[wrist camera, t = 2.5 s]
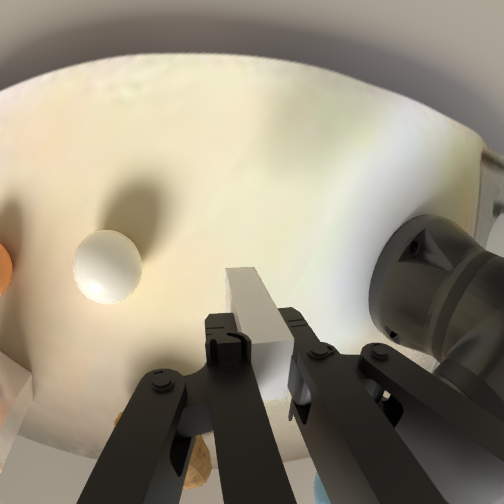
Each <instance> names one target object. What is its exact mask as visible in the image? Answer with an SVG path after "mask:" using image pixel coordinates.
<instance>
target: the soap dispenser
mask: <svg viewBox="0 0 504 504" xmlns="http://www.w3.org/2000/svg"><path fill="white" fill-rule="evenodd" d="M32 402H33V388H32V373H31V372H29V371H28V370H26V369H25V368H23V367H22V366H20V365H19V364H17V363H16V362H15V361H13V360H12V359H10V358H9V357H8V356H6V355H5V354H4V353H2V352H1V351H0V473H1V470H2V467H3V465H4V462H5V460H6V457H7V454H8V452H9V450H10V447H11V445H12V443H13V440H14V438H15V436H16V434H17V432H18V430H19V427H20V425H21V423H22V421H23V419H24V417H25V415H26V413H27V411H28V409H29V407H30V405H31V403H32Z"/></svg>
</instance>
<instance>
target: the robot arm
mask: <svg viewBox="0 0 504 504" xmlns="http://www.w3.org/2000/svg"><path fill="white" fill-rule="evenodd" d="M225 273H226V313H218V314H209V315H208V317H207V318H206V320H205V334H206V343H205V348H206V358H207V362H206V364H205V366H204V367H203V368H202V369H201V370H199V371H198V372H196V373H193V374H190V375H187V376H182V375H181V374H180V373H178V372H177V371H174V370H171V369H157V370H153V371H151V372H149V373H147V374H145V376H144V377H143V378H142V379H141V381H140V382H139V384H138V386H137V388H136V389H135V391H134V393H133V395H132V397H131V399H130V400H129V402H128V404H127V406H126V408H125V409H124V411H123V413H122V415H121V417H120V419H119V421H118V422H117V424H116V426H115V428H114V430H113V432H112V434H111V436H110V438H109V439H108V441H107V443H106V445H105V447H104V449H103V451H102V453H101V455H100V457H99V459H98V461H97V463H96V465H95V467H94V469H93V471H92V473H91V475H90V477H89V479H88V481H87V483H86V485H85V487H84V489H83V491H82V493H81V495H80V497H79V499H78V501H77V504H179V501H180V497H181V493H182V489H183V485H184V482H185V478H186V474H187V470H188V466H189V462H190V458H191V455H192V451H193V447H194V443H195V439H196V436H197V435H200V434H203V433H206V432H209V431H212V430H214V438H215V446H216V454H217V461H218V468H219V475H220V482H221V488H222V494H223V500H224V504H297V503H296V500H295V497H294V494H293V491H292V488H291V486H290V483H289V480H288V477H287V474H286V471H285V468H284V465H283V462H282V459H281V456H280V453H279V450H278V447H277V444H276V441H275V438H274V435H273V432H272V429H271V426H270V422H269V419H268V416H267V413H266V410H265V407H264V403H263V401H271V400H277V399H284V398H287V392H288V389H289V391H290V393H291V396H292V399H291V404H290V410H289V416H288V417H289V421H292V417H293V414H294V417H295V419H296V422H297V424H298V427H299V429H300V431H301V434H302V436H303V439H304V441H305V444H306V446H307V448H308V451H309V453H310V456H311V458H312V460H313V462H314V465H315V467H316V470H317V472H316V476H315V482H314V496H315V504H504V258H503V257H500V256H498V255H495V254H493V253H491V252H489V251H486V250H485V249H484V248H483V247H481V246H480V245H479V244H478V243H477V242H476V241H475V240H474V239H473V238H472V237H471V236H469V235H468V234H467V233H466V232H465V231H464V230H463V229H461V228H460V227H459V226H458V225H457V224H455V223H454V222H452V221H450V220H448V219H445V218H442V217H438V216H435V215H422V216H418V217H416V218H413V219H412V220H410V221H408V222H407V223H406V224H404V225H403V226H402V227H401V228H400V229H399V230H398V231H397V232H396V233H395V234H394V235H393V236H392V238H391V239H390V240H389V242H388V243H387V245H386V246H385V248H384V250H383V251H382V253H381V255H380V257H379V259H378V262H377V264H376V266H375V269H374V272H373V275H372V279H371V284H370V289H369V310H370V315H371V318H372V321H373V323H374V324H375V326H376V327H377V328H378V330H380V331H381V332H382V333H383V334H384V335H385V336H386V337H387V338H388V339H389V340H391V341H392V342H394V343H396V344H399V345H402V346H404V347H407V348H410V349H413V350H416V351H419V352H422V353H425V354H428V355H431V356H433V357H434V358H435V359H436V360H437V361H438V362H440V363H441V364H440V365H439V366H438V367H437V368H436V369H435V370H434V371H433V372H432V373H429V372H428V371H426V370H425V369H423V368H422V367H420V366H419V365H418V364H416V363H415V362H413V361H412V360H410V359H409V358H407V357H406V356H404V355H403V354H401V353H400V352H398V351H397V350H395V349H394V348H392V347H390V346H388V345H386V344H382V343H370V344H367V345H365V346H364V347H363V348H362V351H361V354H360V355H344V354H340V353H339V352H338V350H337V349H336V348H335V347H333V346H332V345H330V344H328V343H324V342H320V340H319V339H318V338H317V336H316V335H315V333H314V332H313V330H312V329H311V327H310V326H308V323H307V322H306V320H305V319H304V317H303V316H302V314H301V313H300V312H299V311H297V310H295V309H294V308H292V307H288V308H277V307H276V305H275V303H274V302H273V300H272V298H271V296H270V294H269V293H268V291H267V289H266V287H265V285H264V284H263V282H262V280H261V278H260V276H259V275H258V273H257V271H256V269H255V267H244V268H225ZM385 390H386V391H387V392H388V393H390V394H391V395H390V397H389V399H388V398H385V397H383V394H384V391H385Z"/></svg>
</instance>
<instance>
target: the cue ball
mask: <svg viewBox="0 0 504 504" xmlns="http://www.w3.org/2000/svg"><path fill="white" fill-rule="evenodd" d="M141 274H142V262H141V257H140V254H139V252H138V249H137V248H136V246H135V244H134V243H133V242H132V241H131V240H130V239H129V238H128V237H127V236H125V235H124V234H122V233H120V232H117V231H113V230H100V231H97V232H94V233H92V234H90V235H89V236H87V237H86V238H85V239H84V240H83V241H82V242H81V243H80V245H79V246H78V248H77V250H76V252H75V255H74V259H73V275H74V278H75V281H76V283H77V285H78V287H79V289H80V290H81V291H82V293H83V294H84V295H85V296H87V297H88V298H89V299H91V300H93V301H95V302H97V303H101V304H115V303H118V302H121V301H123V300H125V299H126V298H128V297H129V296H130V295H131V294H132V293H133V292H134V290H135V289H136V288H137V286H138V284H139V281H140V278H141Z"/></svg>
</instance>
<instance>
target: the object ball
mask: <svg viewBox="0 0 504 504" xmlns="http://www.w3.org/2000/svg"><path fill="white" fill-rule="evenodd" d="M11 278H12V262H11V258H10V256H9V253H8V252H7V250H6V249H5V247H4V246H3V245H2V244H0V295H2V294H3V293H4V292H5V291H6V290H7V288H8V286H9V284H10V282H11Z"/></svg>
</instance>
